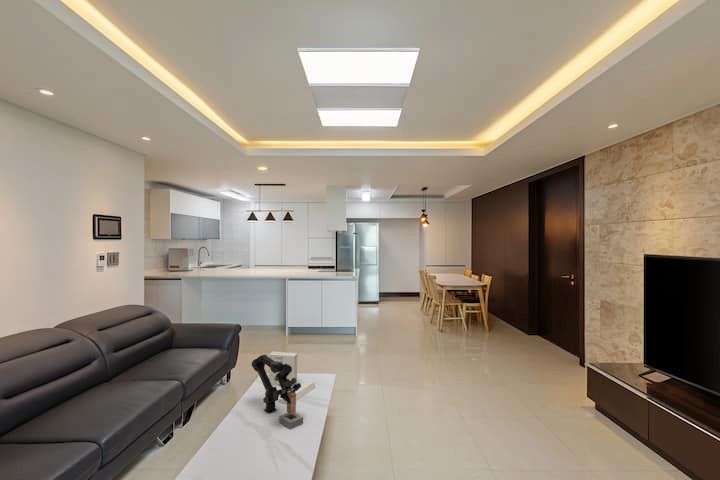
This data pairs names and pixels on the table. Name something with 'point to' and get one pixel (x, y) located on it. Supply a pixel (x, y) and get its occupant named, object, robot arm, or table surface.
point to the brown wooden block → (291, 407)
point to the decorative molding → (301, 391)
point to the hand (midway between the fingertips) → (292, 402)
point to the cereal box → (284, 359)
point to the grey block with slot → (291, 420)
